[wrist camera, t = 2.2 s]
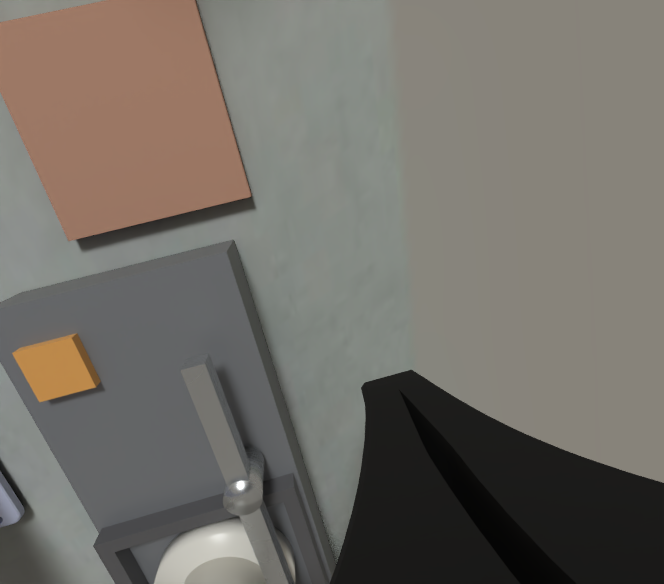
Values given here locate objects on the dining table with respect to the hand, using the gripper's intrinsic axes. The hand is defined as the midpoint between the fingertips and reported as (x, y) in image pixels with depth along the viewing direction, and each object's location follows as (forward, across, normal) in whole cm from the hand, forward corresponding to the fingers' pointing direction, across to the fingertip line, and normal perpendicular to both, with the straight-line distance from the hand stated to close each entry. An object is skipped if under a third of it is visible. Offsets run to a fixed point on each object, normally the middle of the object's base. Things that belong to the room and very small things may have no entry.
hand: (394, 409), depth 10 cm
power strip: (+8, +8, +6) cm, 13 cm away
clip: (+5, +5, +6) cm, 10 cm away
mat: (+8, +6, -9) cm, 13 cm away
